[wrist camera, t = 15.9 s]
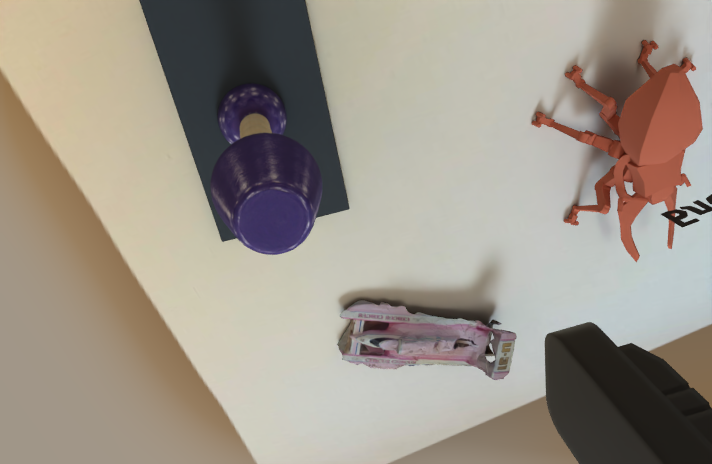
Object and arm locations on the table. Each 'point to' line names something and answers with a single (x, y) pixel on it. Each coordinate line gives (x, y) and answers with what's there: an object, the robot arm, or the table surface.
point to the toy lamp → (263, 173)
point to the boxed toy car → (422, 340)
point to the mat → (245, 78)
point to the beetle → (643, 145)
